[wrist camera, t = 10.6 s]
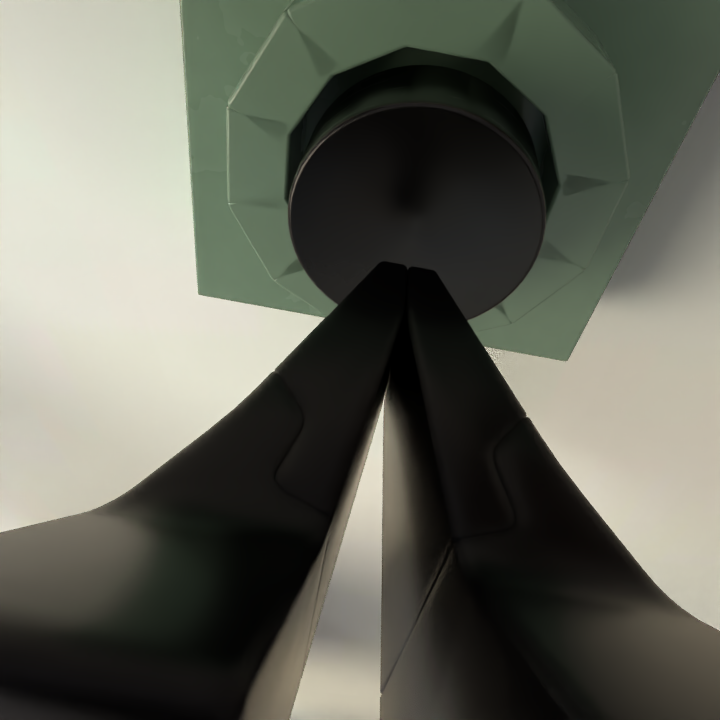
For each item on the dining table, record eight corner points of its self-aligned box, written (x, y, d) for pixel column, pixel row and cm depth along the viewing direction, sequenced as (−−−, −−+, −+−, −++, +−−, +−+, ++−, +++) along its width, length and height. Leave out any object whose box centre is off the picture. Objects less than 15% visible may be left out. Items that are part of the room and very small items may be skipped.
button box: (749, -120, 11) (867, -80, 8) (555, 300, 18) (577, 413, 15) (215, -221, 11) (115, -222, 8) (225, 239, 18) (174, 340, 15)
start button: (574, 89, 10) (590, 132, 9) (497, 294, 13) (501, 349, 12) (314, 40, 10) (294, 77, 9) (297, 258, 13) (280, 308, 12)
